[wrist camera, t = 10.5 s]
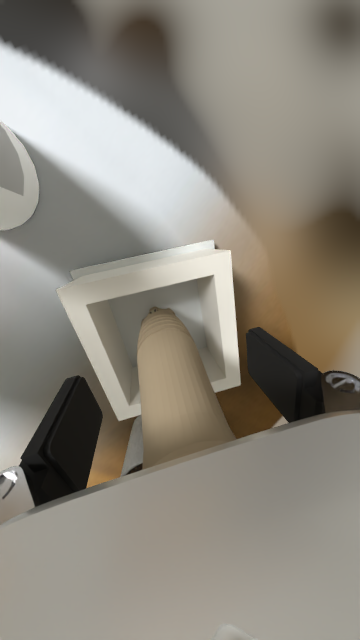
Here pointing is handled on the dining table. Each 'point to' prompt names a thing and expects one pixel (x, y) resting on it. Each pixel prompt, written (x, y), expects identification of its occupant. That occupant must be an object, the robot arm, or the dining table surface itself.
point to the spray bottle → (16, 181)
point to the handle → (175, 392)
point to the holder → (133, 306)
